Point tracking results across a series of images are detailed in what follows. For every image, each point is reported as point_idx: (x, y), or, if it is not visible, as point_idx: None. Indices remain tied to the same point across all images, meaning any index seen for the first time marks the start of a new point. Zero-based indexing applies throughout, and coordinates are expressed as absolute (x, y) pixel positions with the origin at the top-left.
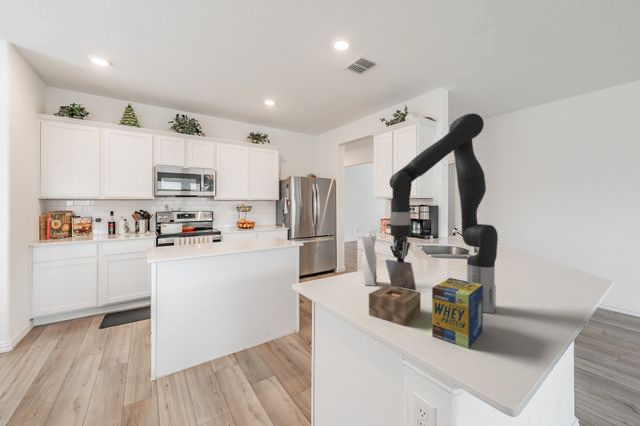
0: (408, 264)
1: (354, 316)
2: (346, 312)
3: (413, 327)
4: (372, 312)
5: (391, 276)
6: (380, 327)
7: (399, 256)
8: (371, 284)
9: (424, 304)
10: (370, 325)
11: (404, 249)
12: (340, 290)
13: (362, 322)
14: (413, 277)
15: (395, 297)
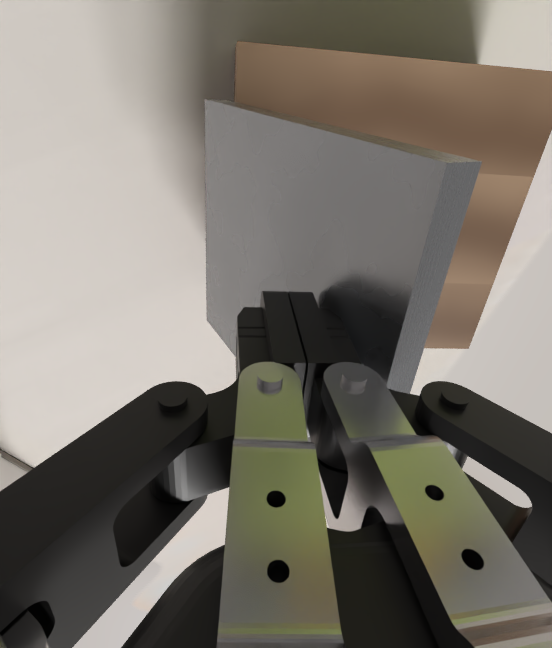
0: (466, 193)
1: None
2: (433, 370)
3: (476, 13)
4: None
5: None
6: (536, 178)
7: (490, 406)
8: (15, 468)
9: (47, 78)
10: (530, 227)
11: (319, 505)
12: (204, 509)
13: (510, 270)
14: (292, 119)
15: (476, 182)
